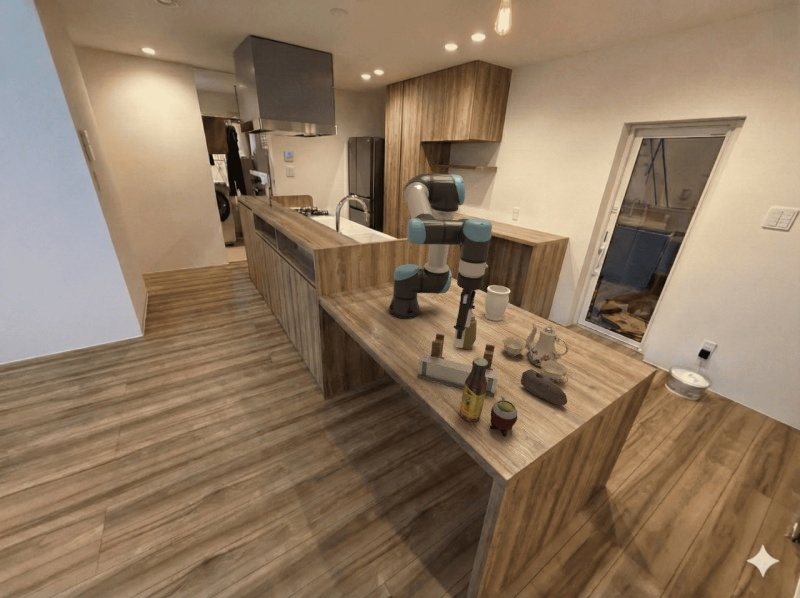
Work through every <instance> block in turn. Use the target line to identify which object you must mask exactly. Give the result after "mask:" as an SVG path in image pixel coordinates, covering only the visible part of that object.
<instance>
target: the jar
mask: <svg viewBox="0 0 800 598" xmlns="http://www.w3.org/2000/svg"><path fill="white" fill-rule="evenodd" d="M486 290H487V291H486V292H487V293H486V295H485V299H484V305H485V306H484V310H485V314H484V316H485V318H486V319H487V320H490V321H493V322H499V321H502V320H503V319H504V318H503V316H504V315H505V312H506V310H507V307H508V305H509V299H510V293H511V290H510V288H508V287H506V286H503V285H492V284H491V285H488V287H487V289H486Z"/></svg>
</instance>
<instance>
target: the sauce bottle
mask: <svg viewBox="0 0 800 598" xmlns="http://www.w3.org/2000/svg"><path fill="white" fill-rule="evenodd" d="M471 364H472V365H471V366H472V370H471V373H470V374H469V376H468V377H467V379H466V380H465V384H464V389H462V396H461V402H460V407H459V409H460V411H459V414H460V416H461V417H462V419H464V420H466V421H469V422H477V421H478V420H480V418H481V415H482V411H483V407H484V402H485V398H486V395H485V394H486V387H487V379H486V377H485V372H486V368H487V366H488V362H487V360H486V359H484V358H483V357H482V356H477V357H474V358H473V359H472V363H471Z"/></svg>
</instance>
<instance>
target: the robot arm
mask: <svg viewBox="0 0 800 598" xmlns="http://www.w3.org/2000/svg"><path fill="white" fill-rule="evenodd" d="M403 188H404V189H403V199H404V201H405V203H406V204H407V206H408V210H409V214H410V219H409V220H408V221H407V229H406V230H407V232H406V233H407V234H406V236H407V242H408V243H409V244H413V245H415V244H416V245H418V246H419V245H429V249H428V256H427V257H428V259H427V262H425V263H424V265H423V268H420V267H419V265H417V264H413V263H410V264H409V263H408V264H402V265H399V266H397V267H396V268H395V269H394V271H393V272H394V273H393V277H392V278H393V287H392V289H393V290H392V299H391V301H390V304H389V306H388V312H389V313H388V314H390V315H391V316H393V317H395V318H399V319H404V320H405V319H407V320H408V319H414V318H416V317H418V316H419V315H420V311H421V310H420V304H419V300H418V294H437V295H439V294H446V293H448V292H449V290H450V288H451V285H452V281H453V280H452V277H453V274H452V271H451V269H450V266H449V265H448V264H447V263H448V255H449V250H450V249H449V248H450V246H453V245H454V246H461V249H460V257H459V264H458V270H457V271H458V274H457V281H456V284H457V286H458V287H459V288H461V289H462V290H461V293H460V300H459V308H458V313H457V318H456V323H455V325H453V329H454V330H455V333H454V340H453V347H455V348H461V349H463V342H464V336H465V329H466V328H465V327H470V321H471V315H472V312H473V310H475V307H476V305H474V303H475V301H474V300H475V296H476V291H478V290H480V289H482V288H483V284H484V279H485V276H484V275H485V273H486V269H488V268H489V265H488V264H487V259H488V255H489V250H490V249H489V248H490V245H491V244H490V243H491V238H492V233H493V232H492V230H493V224H492V222H491V221H489V220H486V219H484V218H483V219H481V218H465V217H463V218H462V217H461V218H459V219H454V214H456V213H457V212H458V211H459V207H460V206H463V204H464V203H465V198H466V190H465V189H466V188H465V182H464V179H463V176H461V175H459V174H452V173H428V172H427V173H426V172H425V173H420V174H416V175H414V176H413V177H411V178H410V179H409V180H408V182H406V184H405V185H404V187H403ZM471 308H472V309H471Z"/></svg>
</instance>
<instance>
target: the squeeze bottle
mask: <svg viewBox="0 0 800 598" xmlns="http://www.w3.org/2000/svg"><path fill="white" fill-rule="evenodd" d="M471 309H472V308H471ZM472 310H473V309H472ZM477 323H478V322H477V319H476V314H475V312H473V311H472V315H471V321H470V327H465V328H466V329H465V336H464V342H463V348H462V349H464V350H467V349H468V350H469V349H471V348H472V347H473V346H474V344H475V342H476V340H477V326H478V325H477Z"/></svg>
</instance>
